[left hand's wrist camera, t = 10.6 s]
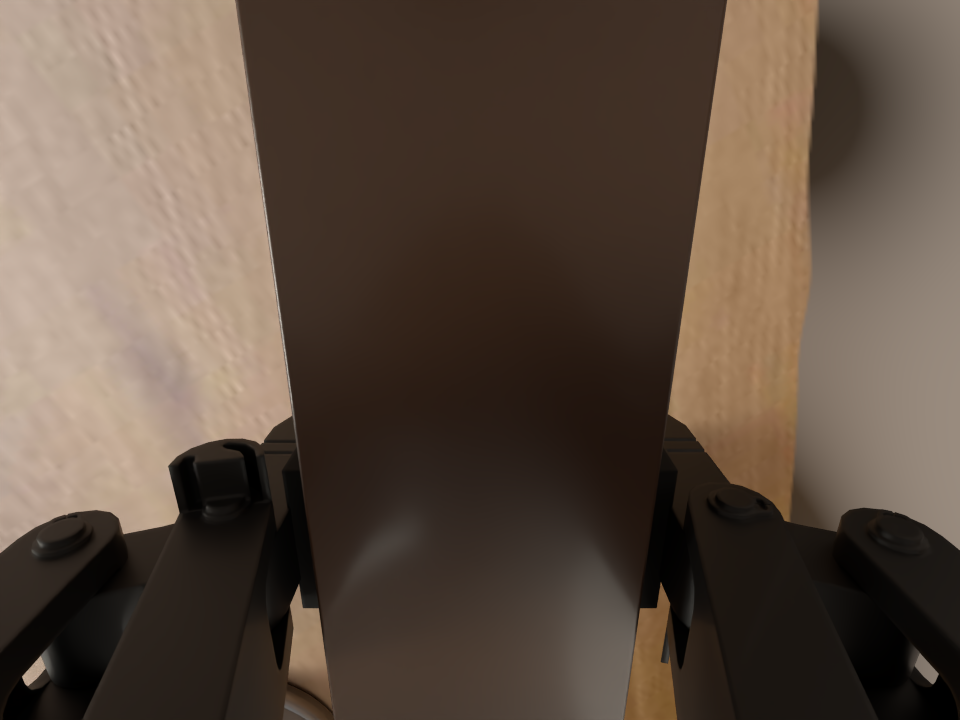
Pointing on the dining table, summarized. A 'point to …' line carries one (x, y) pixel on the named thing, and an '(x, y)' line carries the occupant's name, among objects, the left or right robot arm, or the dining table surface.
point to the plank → (480, 328)
